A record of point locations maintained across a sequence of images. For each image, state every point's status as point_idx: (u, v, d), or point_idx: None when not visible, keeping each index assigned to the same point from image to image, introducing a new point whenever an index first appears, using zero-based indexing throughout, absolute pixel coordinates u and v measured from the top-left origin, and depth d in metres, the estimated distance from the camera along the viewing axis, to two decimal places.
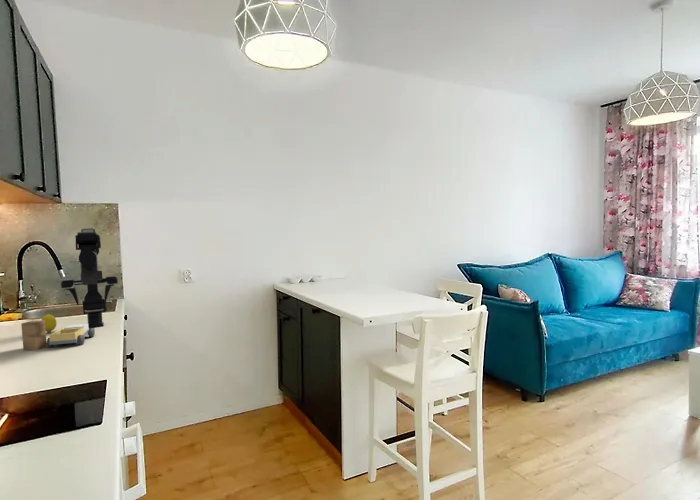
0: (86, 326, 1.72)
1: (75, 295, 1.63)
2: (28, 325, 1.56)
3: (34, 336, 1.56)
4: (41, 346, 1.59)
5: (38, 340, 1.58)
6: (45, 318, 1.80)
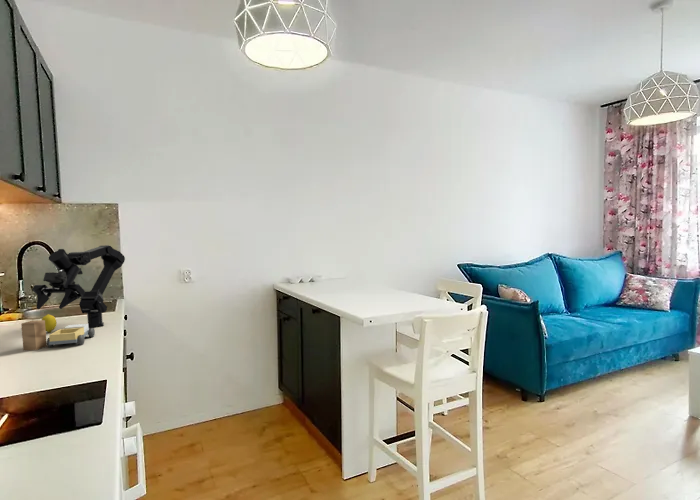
0: (86, 326, 1.72)
1: (39, 298, 1.68)
2: (28, 325, 1.56)
3: (34, 336, 1.56)
4: (41, 346, 1.59)
5: (38, 340, 1.58)
6: (45, 318, 1.80)
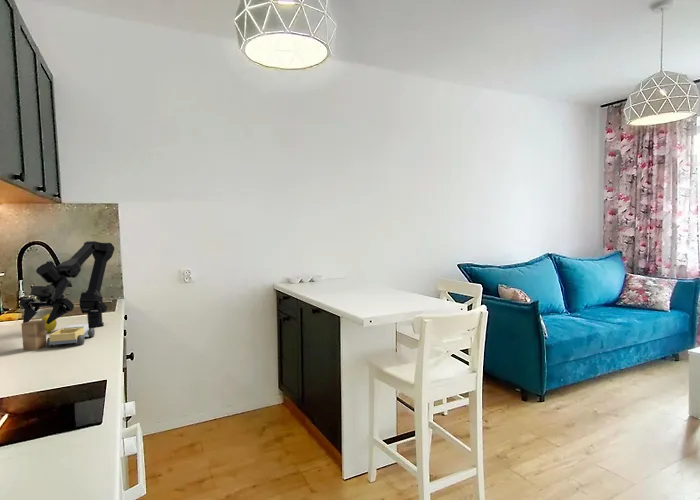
0: (86, 326, 1.72)
1: (26, 313, 1.62)
2: (28, 325, 1.56)
3: (34, 336, 1.56)
4: (41, 346, 1.59)
5: (38, 340, 1.58)
6: (45, 318, 1.80)
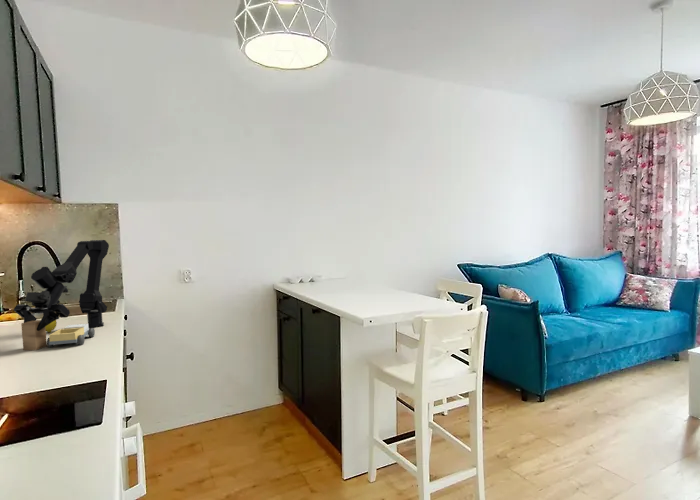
0: (86, 326, 1.72)
1: (26, 319, 1.59)
2: (28, 325, 1.56)
3: (34, 336, 1.56)
4: (41, 346, 1.59)
5: (38, 339, 1.58)
6: None
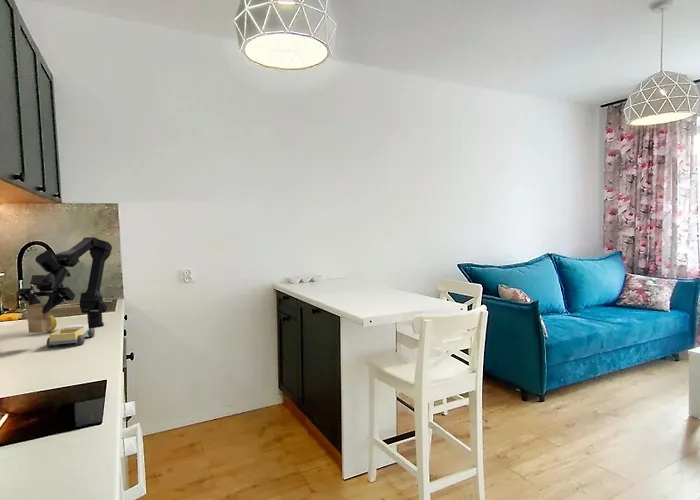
0: (86, 326, 1.72)
1: (30, 302, 1.59)
2: (34, 307, 1.56)
3: (40, 318, 1.56)
4: (47, 329, 1.59)
5: (44, 322, 1.58)
6: None
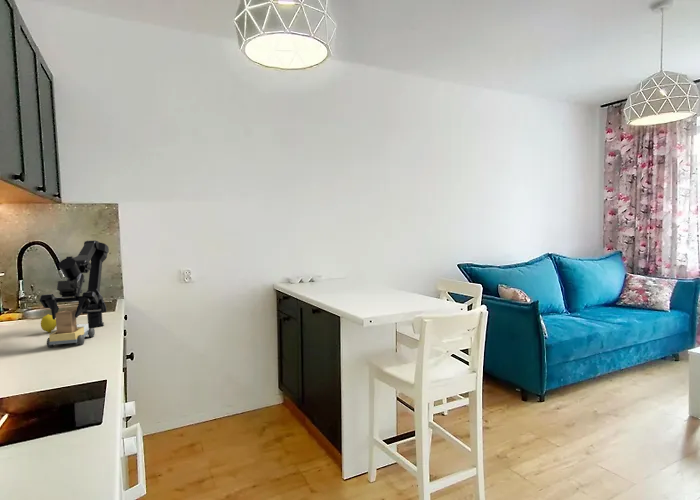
0: (86, 326, 1.72)
1: (53, 308, 1.61)
2: (64, 314, 1.60)
3: (70, 325, 1.60)
4: None
5: (73, 328, 1.62)
6: (45, 318, 1.80)
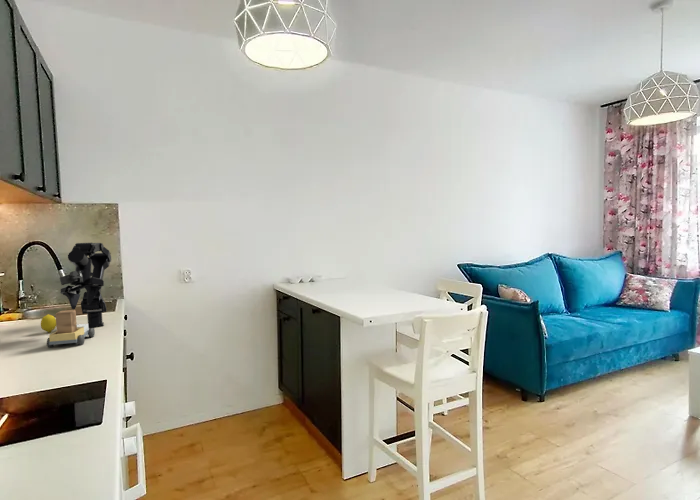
0: (86, 326, 1.72)
1: (70, 299, 1.76)
2: (64, 314, 1.60)
3: (70, 325, 1.60)
4: None
5: (73, 328, 1.62)
6: (45, 318, 1.80)
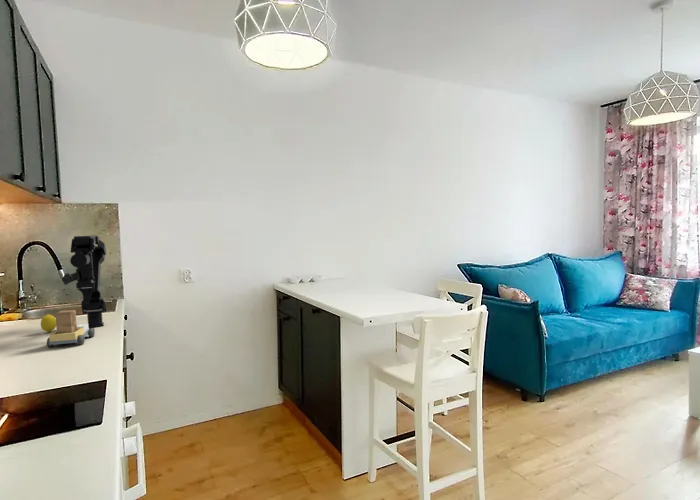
0: (86, 326, 1.72)
1: None
2: (64, 314, 1.60)
3: (70, 325, 1.60)
4: None
5: (73, 328, 1.62)
6: (45, 318, 1.80)
